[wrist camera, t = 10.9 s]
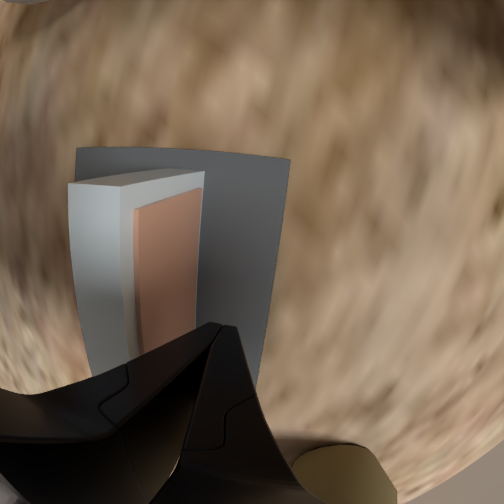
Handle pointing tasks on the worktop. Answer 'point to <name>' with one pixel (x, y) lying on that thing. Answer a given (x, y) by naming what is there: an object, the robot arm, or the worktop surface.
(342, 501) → the squeeze bottle
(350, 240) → the worktop surface
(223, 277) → the mat
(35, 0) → the donut
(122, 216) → the tile
